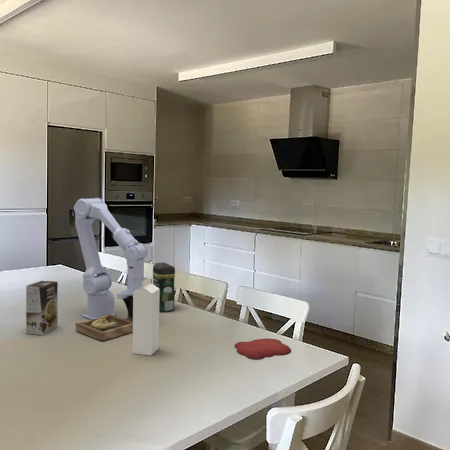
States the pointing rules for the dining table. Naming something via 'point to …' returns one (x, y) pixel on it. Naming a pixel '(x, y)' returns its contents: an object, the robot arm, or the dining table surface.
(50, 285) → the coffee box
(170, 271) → the coffee jar
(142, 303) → the milk
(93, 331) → the pull frame
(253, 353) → the red lobed slab
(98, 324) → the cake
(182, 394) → the dining table surface
